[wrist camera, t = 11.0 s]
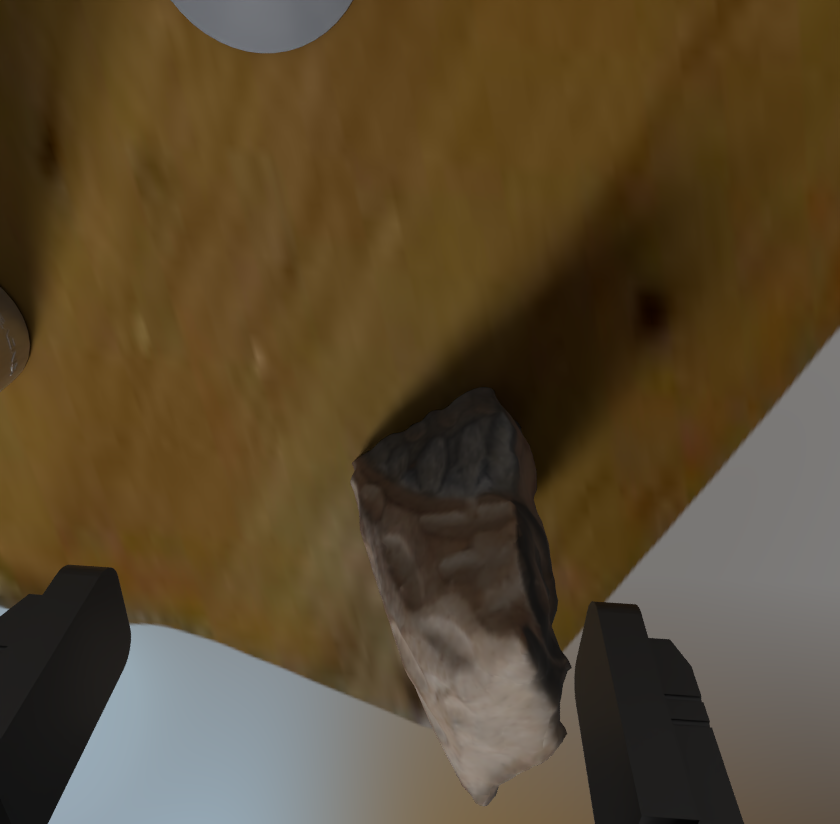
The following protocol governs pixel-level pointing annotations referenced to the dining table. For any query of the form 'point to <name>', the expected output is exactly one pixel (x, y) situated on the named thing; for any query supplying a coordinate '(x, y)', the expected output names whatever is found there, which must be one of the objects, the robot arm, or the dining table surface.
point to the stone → (468, 585)
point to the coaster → (264, 21)
